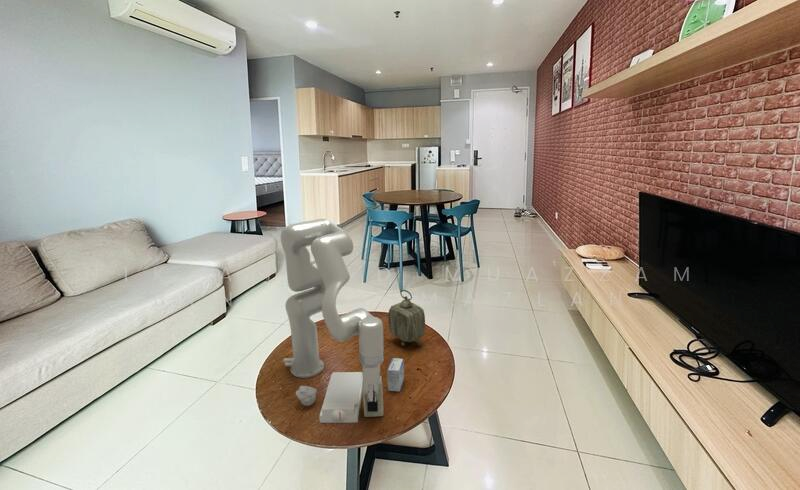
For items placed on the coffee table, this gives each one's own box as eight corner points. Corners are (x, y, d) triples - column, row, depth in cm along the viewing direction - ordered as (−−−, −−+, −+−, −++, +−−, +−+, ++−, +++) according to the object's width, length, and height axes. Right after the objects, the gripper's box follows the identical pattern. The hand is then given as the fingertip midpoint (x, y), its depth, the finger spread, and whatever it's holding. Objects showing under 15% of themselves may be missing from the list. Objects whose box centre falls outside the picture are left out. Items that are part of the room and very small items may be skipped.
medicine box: (400, 392, 135) (399, 371, 133) (387, 391, 136) (387, 369, 134) (404, 379, 143) (404, 358, 140) (392, 377, 144) (392, 357, 141)
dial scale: (319, 423, 121) (318, 410, 119) (331, 380, 142) (331, 368, 141) (357, 423, 121) (356, 409, 119) (364, 380, 142) (363, 368, 141)
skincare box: (383, 407, 127) (382, 375, 124) (383, 416, 123) (382, 384, 120) (364, 407, 127) (362, 376, 124) (363, 417, 123) (361, 384, 120)
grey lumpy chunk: (295, 401, 131) (293, 384, 129) (316, 396, 134) (314, 378, 132) (298, 412, 126) (296, 394, 124) (319, 406, 129) (318, 388, 127)
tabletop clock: (425, 346, 165) (425, 292, 158) (410, 354, 159) (409, 298, 153) (402, 334, 175) (401, 283, 169) (387, 341, 170) (386, 288, 163)
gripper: (362, 342, 128) (364, 389, 133) (356, 372, 111) (358, 424, 116) (384, 341, 128) (385, 388, 133) (382, 371, 111) (383, 424, 116)
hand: (373, 404), depth 124 cm, fingers closed on skincare box, 4 cm apart
